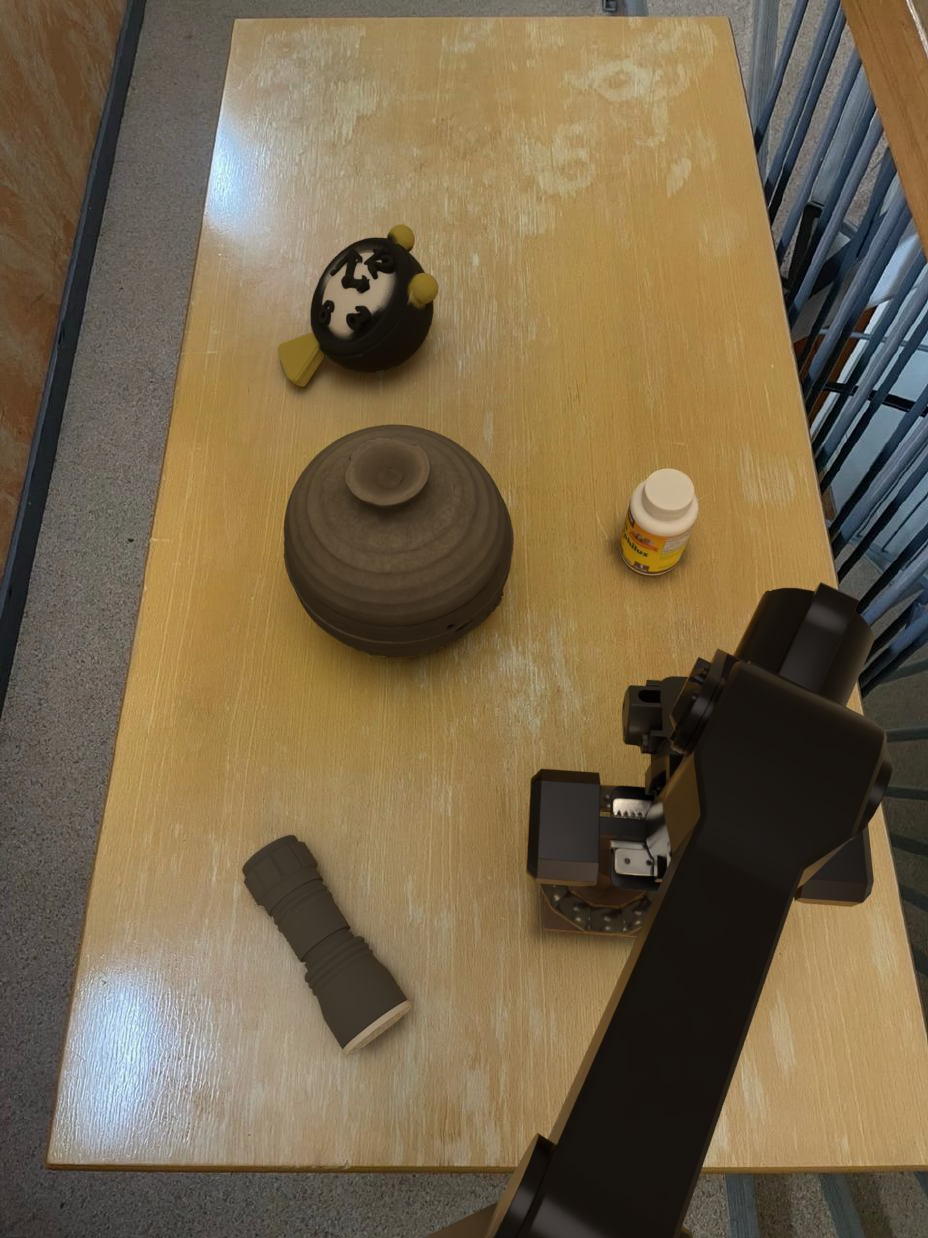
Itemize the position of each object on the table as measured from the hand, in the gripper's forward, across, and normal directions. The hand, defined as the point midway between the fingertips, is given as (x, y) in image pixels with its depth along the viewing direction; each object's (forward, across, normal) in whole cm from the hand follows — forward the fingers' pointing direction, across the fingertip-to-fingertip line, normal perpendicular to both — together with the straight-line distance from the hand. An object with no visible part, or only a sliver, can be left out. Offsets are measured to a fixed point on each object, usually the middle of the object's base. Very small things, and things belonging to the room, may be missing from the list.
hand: (668, 861), depth 60 cm
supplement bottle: (+12, -1, -29) cm, 32 cm away
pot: (+12, +20, -23) cm, 33 cm away
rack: (+11, +3, 0) cm, 12 cm away
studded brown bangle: (0, +4, 0) cm, 4 cm away
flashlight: (+11, +23, +6) cm, 26 cm away
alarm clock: (+12, +27, -50) cm, 58 cm away
